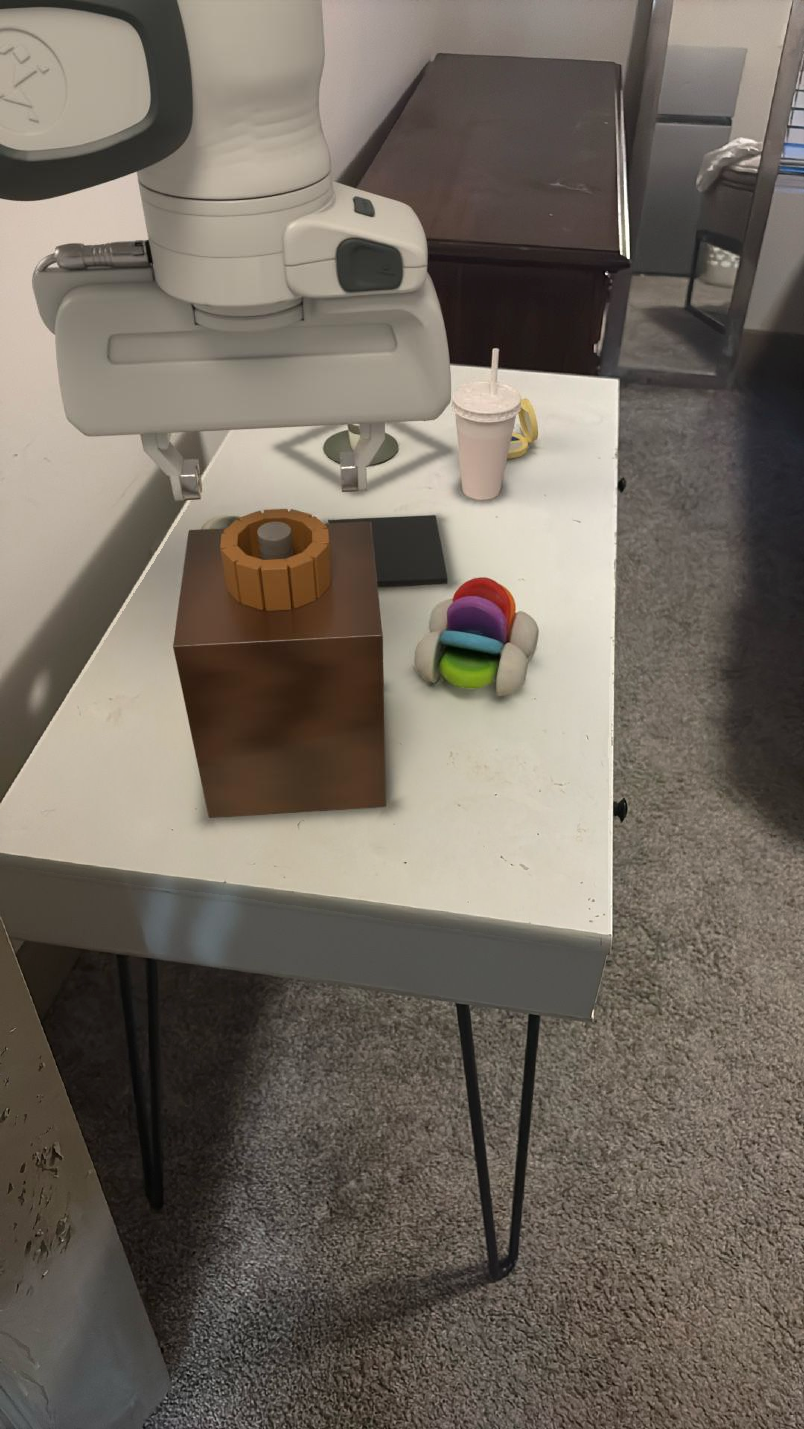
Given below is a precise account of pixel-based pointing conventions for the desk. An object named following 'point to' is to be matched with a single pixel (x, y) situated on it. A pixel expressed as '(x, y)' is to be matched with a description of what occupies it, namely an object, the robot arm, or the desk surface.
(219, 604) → the tape stand
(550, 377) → the desk surface
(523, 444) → the eyeshadow
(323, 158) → the robot arm
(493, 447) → the smoothie
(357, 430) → the coffee cup
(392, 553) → the mat
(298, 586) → the grooved wooden ring
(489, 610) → the rainbow disc roller toy
